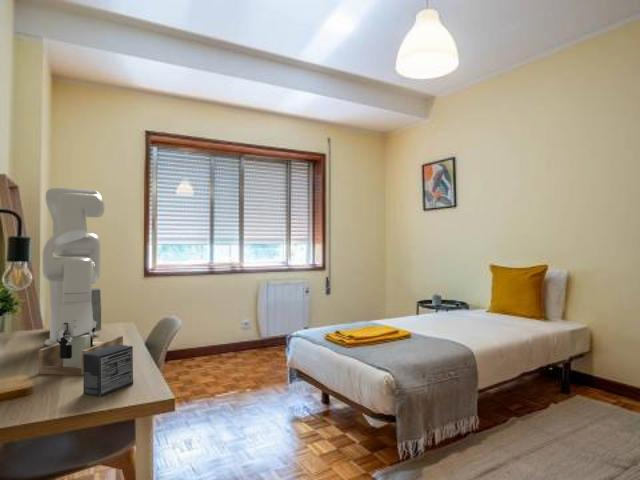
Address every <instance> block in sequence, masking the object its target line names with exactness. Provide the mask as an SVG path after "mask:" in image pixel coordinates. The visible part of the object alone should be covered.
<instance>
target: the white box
mask: <svg viewBox="0 0 640 480" xmlns="http://www.w3.org/2000/svg"><path fill="white" fill-rule="evenodd" d="M90 339H91V335H80V336H77V337H73V339H72V341H71V343H70V345H72V357H71V358H70V359H63V366H62V367H81V366H82V351H83V350H85V349H88V348H90ZM66 340H68V338H66Z"/></svg>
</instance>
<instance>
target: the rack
mask: <svg viewBox="0 0 640 480" xmlns="http://www.w3.org/2000/svg"><path fill="white" fill-rule="evenodd" d="M102 342H103V343H101V344H98V345H96V346H93V347H90V348H88V349H85V350H83V351H82V366H81V367H63V359H61V358H60V345H59V343H58V344H55V345H52V346H49V345H48V346H47V347H44V348H41V349H38V375H63V376H83V374H84V372H83V354H85V353H88V352H92V351H95V350H99V349H103V348H106V347H110V346H114V345H124V336H123V335H118V336H117V337H113V338H111V339H108V340H106V341H102Z"/></svg>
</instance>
